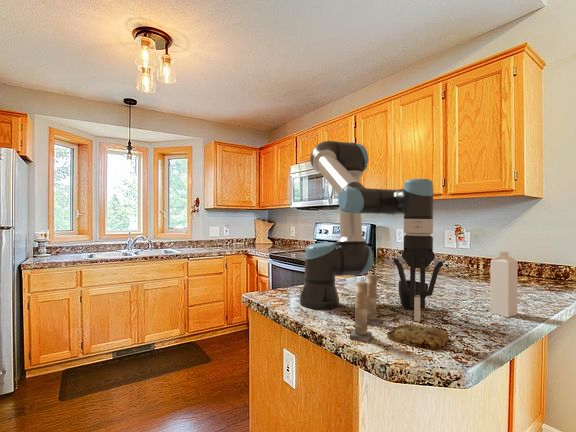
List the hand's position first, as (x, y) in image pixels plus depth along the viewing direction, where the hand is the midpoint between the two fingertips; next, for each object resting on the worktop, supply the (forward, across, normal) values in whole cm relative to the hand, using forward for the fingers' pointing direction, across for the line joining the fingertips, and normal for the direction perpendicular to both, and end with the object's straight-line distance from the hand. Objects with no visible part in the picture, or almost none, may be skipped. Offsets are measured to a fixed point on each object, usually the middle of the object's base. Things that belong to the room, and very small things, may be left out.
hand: (417, 319), depth 86 cm
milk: (+5, +26, +40) cm, 48 cm away
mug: (+5, -3, +32) cm, 33 cm away
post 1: (+5, -14, -7) cm, 16 cm away
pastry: (+6, 0, 0) cm, 6 cm away
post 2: (+5, -14, +7) cm, 16 cm away
